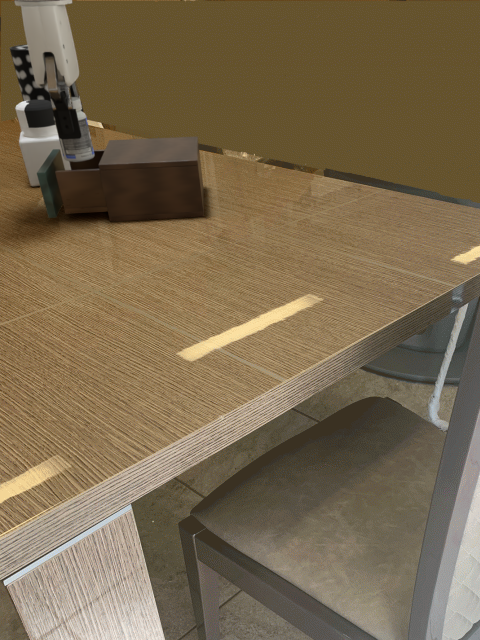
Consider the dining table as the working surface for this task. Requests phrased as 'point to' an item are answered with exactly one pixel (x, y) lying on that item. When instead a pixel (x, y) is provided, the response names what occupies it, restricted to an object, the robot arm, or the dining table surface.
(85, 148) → the pill bottle
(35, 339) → the dining table surface
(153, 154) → the cabinet
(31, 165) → the container
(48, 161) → the drawer
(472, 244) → the dining table surface
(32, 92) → the spotted tube
